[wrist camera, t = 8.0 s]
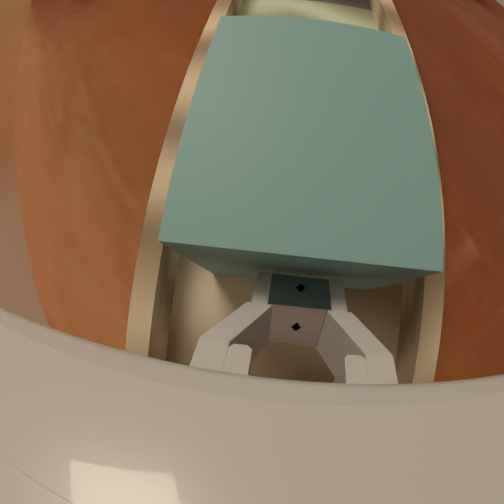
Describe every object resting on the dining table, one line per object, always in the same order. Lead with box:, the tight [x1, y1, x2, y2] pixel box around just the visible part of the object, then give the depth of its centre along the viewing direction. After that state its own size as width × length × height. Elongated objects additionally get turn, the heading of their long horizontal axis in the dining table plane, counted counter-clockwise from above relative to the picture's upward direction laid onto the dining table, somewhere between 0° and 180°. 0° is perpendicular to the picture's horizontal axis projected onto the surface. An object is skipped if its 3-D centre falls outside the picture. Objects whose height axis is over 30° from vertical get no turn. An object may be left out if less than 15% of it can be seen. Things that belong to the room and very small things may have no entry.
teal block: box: [158, 16, 443, 290], centre depth 12 cm, size 10×8×8 cm
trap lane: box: [125, 0, 445, 384], centre depth 16 cm, size 38×14×3 cm, turn 173°
